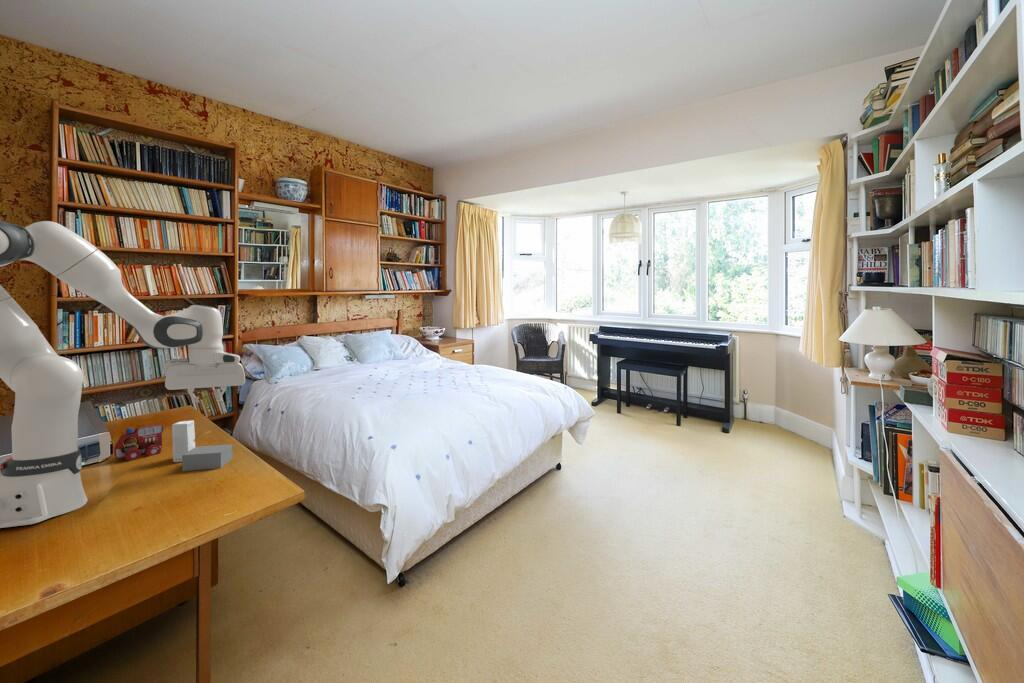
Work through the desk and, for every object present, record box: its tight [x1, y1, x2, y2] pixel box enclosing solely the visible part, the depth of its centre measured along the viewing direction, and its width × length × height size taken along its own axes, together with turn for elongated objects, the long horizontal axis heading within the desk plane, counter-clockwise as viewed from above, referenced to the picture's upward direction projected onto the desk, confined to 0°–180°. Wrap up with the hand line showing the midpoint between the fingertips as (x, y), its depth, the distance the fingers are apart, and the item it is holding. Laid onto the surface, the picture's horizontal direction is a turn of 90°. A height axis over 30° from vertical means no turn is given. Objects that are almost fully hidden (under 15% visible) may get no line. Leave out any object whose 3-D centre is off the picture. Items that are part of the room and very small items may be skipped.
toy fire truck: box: [113, 423, 164, 462], centre depth 139 cm, size 7×12×10 cm, turn 146°
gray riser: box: [181, 443, 234, 472], centre depth 132 cm, size 10×10×5 cm
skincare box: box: [171, 420, 196, 463], centre depth 137 cm, size 6×4×12 cm
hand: (207, 401), depth 131 cm, fingers open, 5 cm apart
